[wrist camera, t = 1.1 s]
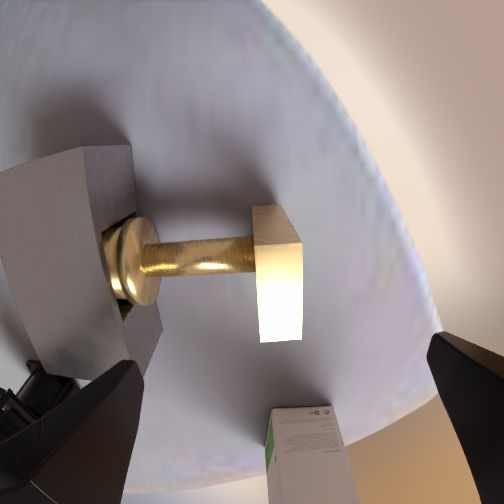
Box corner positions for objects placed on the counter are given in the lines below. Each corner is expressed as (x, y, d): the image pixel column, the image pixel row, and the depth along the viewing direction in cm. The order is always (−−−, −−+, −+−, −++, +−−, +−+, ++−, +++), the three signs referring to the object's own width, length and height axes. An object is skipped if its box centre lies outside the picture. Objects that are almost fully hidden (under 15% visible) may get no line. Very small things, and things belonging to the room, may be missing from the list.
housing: (80, 328, 22) (46, 373, 16) (42, 166, 18) (-15, 178, 11) (162, 329, 22) (140, 385, 16) (131, 144, 17) (82, 145, 11)
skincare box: (271, 405, 25) (283, 558, 11) (338, 403, 25) (377, 542, 11) (263, 449, 28) (269, 569, 13) (320, 447, 28) (342, 560, 14)
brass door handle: (91, 284, 20) (36, 342, 13) (76, 218, 19) (5, 256, 11) (282, 274, 20) (301, 345, 13) (279, 198, 18) (302, 232, 11)
